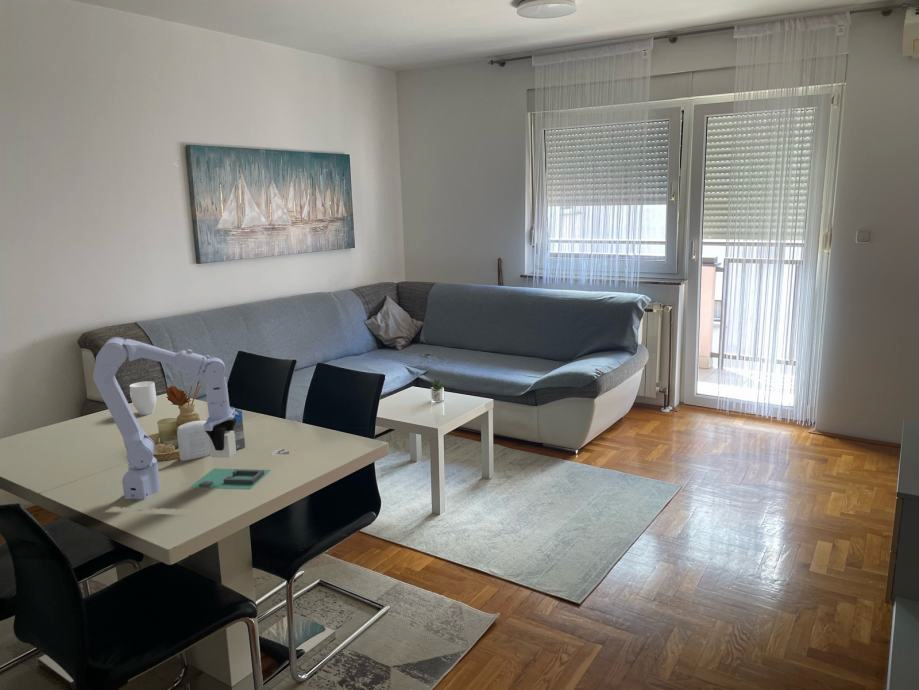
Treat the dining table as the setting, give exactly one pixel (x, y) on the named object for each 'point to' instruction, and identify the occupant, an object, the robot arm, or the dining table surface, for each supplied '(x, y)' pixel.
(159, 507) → the dining table surface
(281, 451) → the pliers
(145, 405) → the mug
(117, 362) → the robot arm
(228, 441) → the plug
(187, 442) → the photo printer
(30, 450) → the dining table surface
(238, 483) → the board
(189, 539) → the dining table surface
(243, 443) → the milk carton
